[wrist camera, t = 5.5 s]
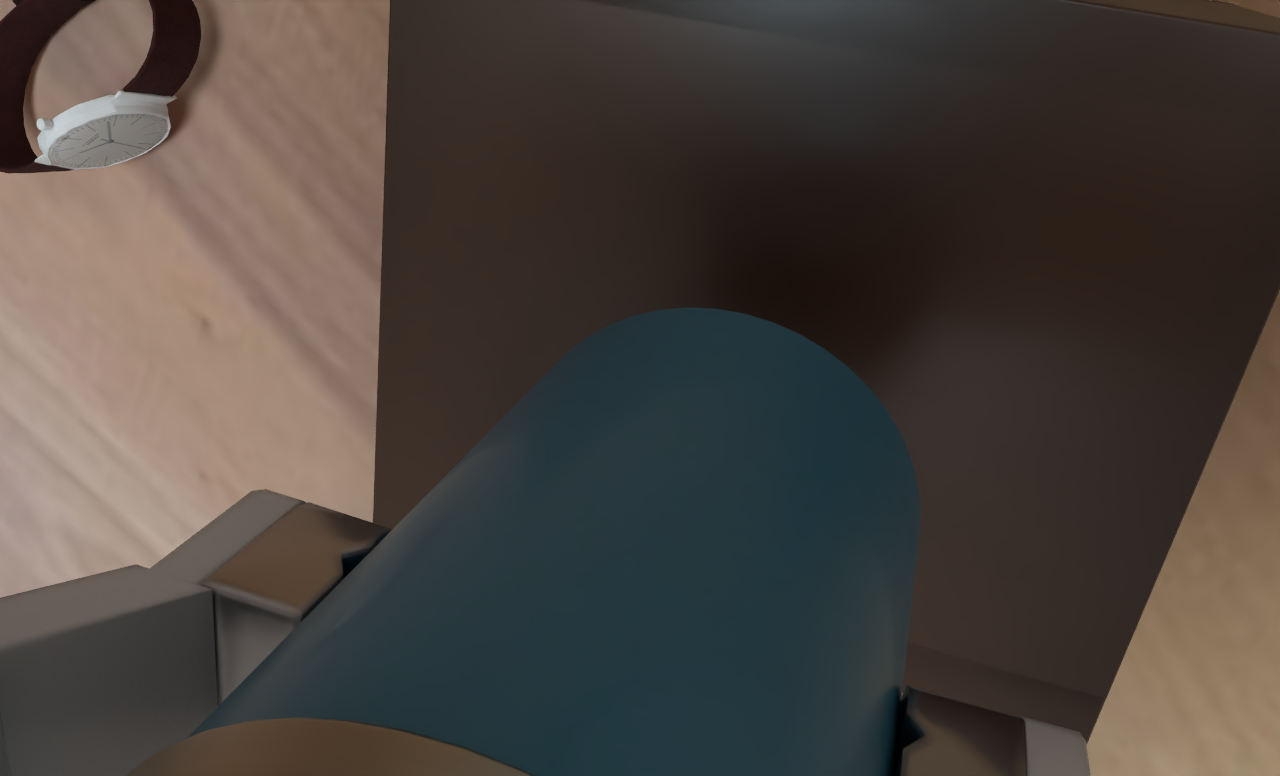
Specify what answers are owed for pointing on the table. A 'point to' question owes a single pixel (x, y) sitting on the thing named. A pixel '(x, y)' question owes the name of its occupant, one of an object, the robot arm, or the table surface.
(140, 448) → the table surface
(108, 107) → the watch
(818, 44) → the brown box
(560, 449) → the enamel canister
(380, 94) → the table surface
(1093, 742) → the table surface
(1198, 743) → the table surface
